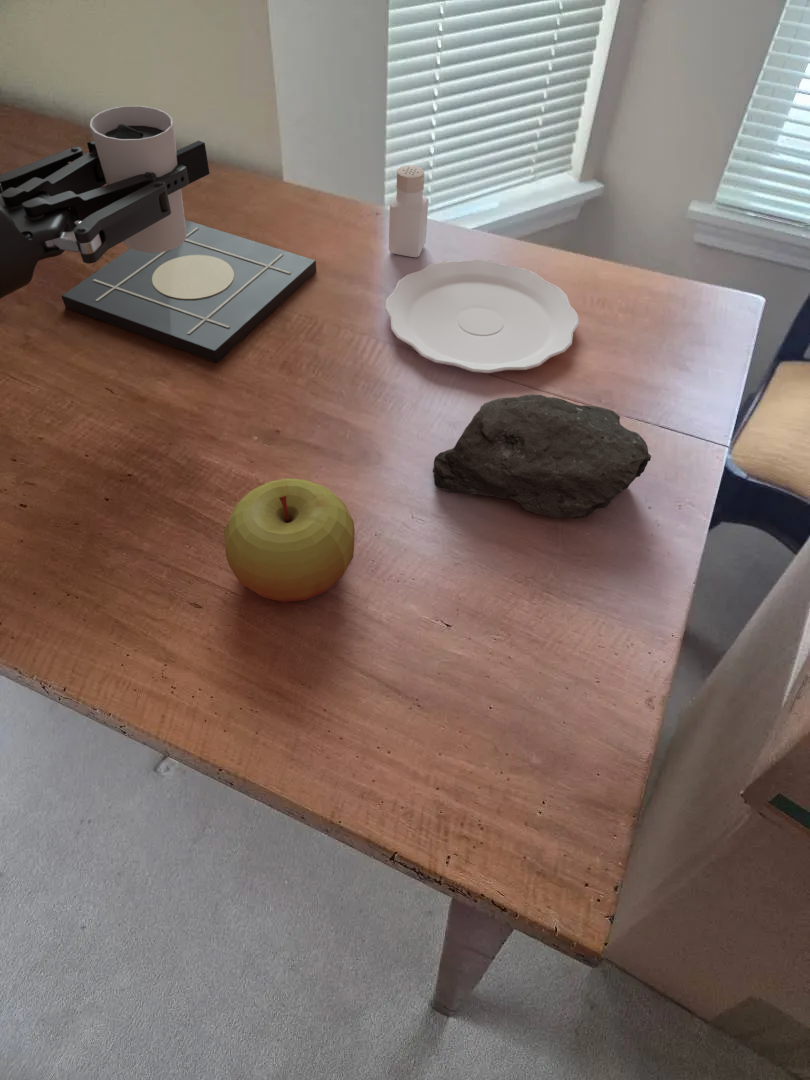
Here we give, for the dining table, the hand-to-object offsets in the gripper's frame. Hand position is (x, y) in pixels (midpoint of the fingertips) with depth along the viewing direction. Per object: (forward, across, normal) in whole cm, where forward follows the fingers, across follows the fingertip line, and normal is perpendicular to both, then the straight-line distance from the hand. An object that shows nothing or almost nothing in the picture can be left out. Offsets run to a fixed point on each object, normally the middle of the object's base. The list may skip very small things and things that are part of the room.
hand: (185, 150), depth 68 cm
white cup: (-5, 0, -6) cm, 8 cm away
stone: (-2, +40, -18) cm, 44 cm away
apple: (-21, +29, -18) cm, 40 cm away
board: (+3, -6, -18) cm, 19 cm away
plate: (+17, +24, -18) cm, 34 cm away
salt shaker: (+25, +8, -18) cm, 32 cm away
